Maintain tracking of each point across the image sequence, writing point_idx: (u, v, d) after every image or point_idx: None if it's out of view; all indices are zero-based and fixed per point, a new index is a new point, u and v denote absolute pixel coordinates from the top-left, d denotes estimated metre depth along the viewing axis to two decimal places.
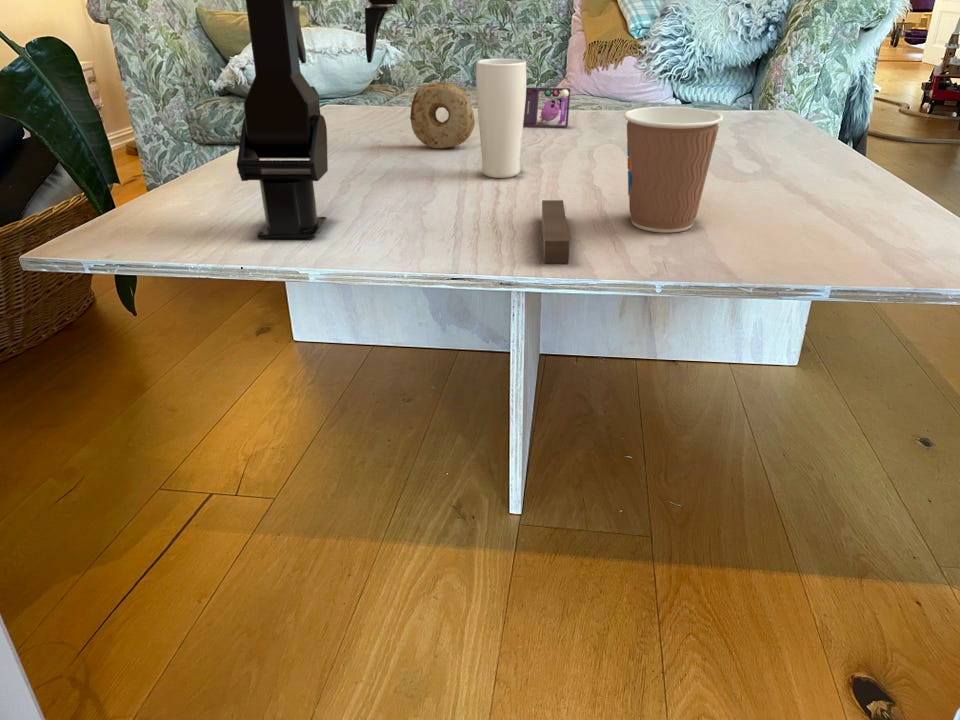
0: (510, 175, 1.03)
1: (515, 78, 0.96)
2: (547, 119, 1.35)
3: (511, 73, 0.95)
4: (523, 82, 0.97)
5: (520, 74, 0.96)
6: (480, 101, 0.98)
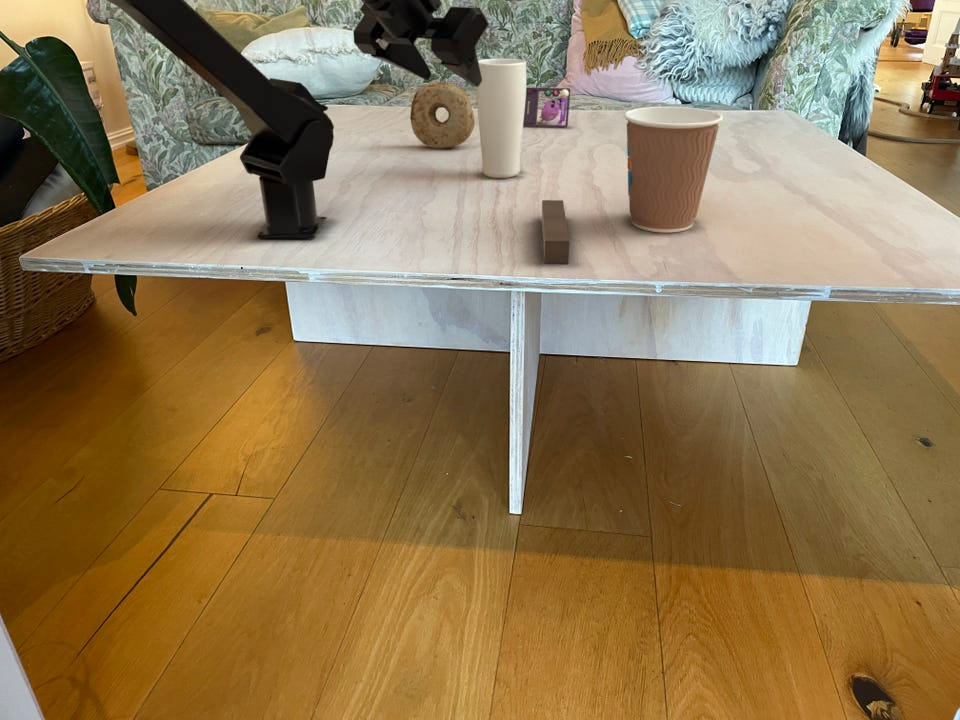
0: (510, 175, 1.03)
1: (515, 78, 0.96)
2: (547, 119, 1.35)
3: (511, 73, 0.95)
4: (523, 82, 0.97)
5: (520, 74, 0.96)
6: (480, 101, 0.98)
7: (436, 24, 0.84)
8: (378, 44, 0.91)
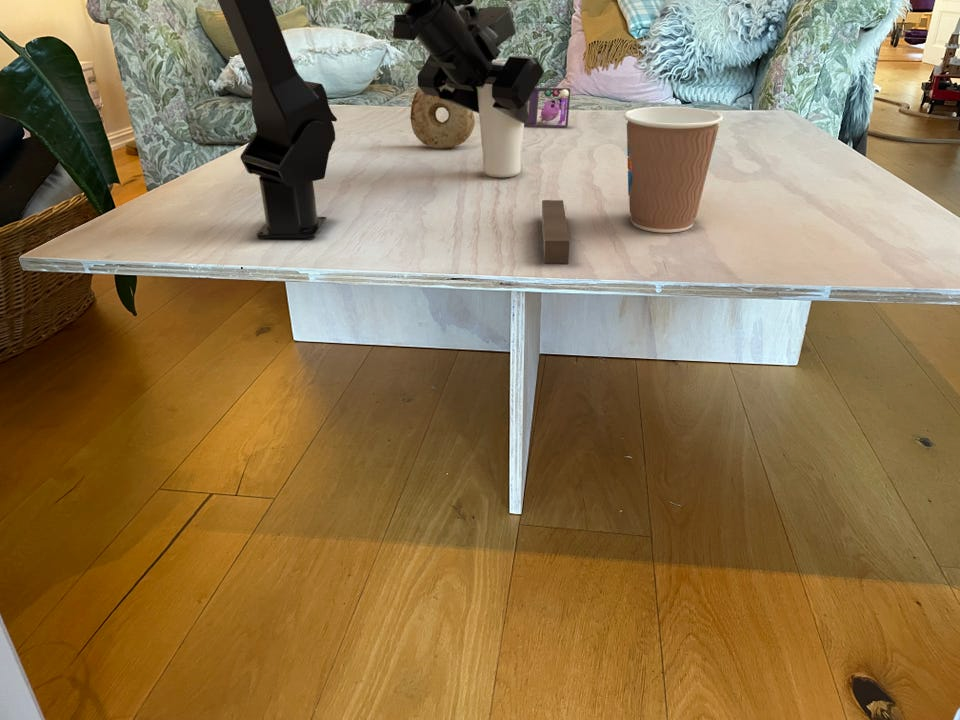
0: (511, 174, 1.02)
1: None
2: (547, 119, 1.35)
3: None
4: None
5: None
6: (481, 100, 0.98)
7: (496, 72, 0.92)
8: None
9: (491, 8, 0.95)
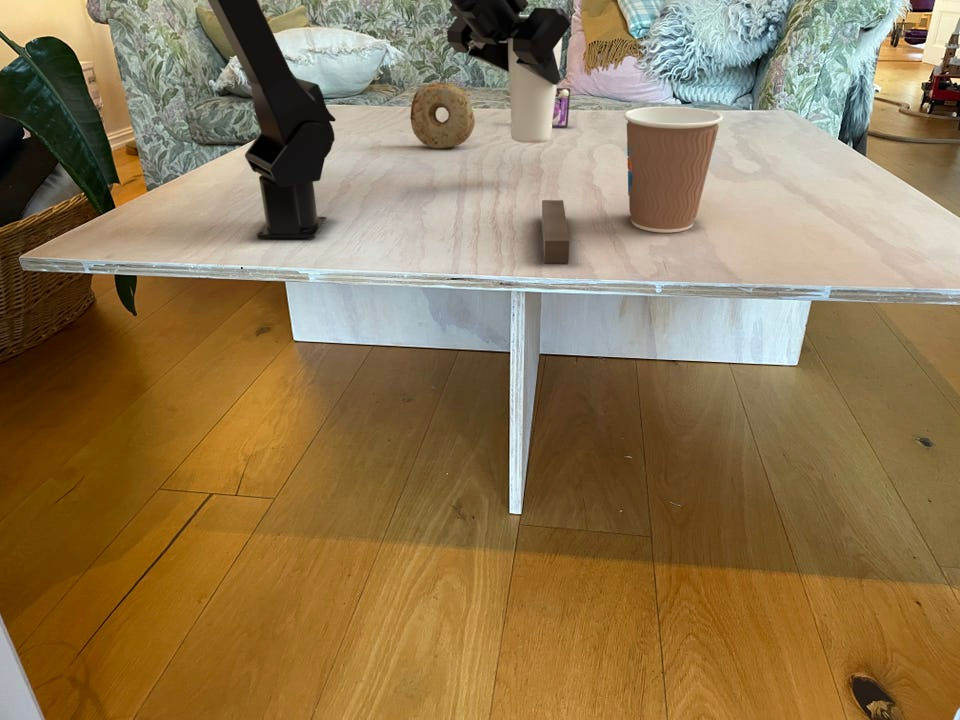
0: (538, 140, 0.95)
1: None
2: None
3: None
4: None
5: None
6: (510, 57, 0.92)
7: (520, 24, 0.85)
8: (469, 43, 0.94)
9: None
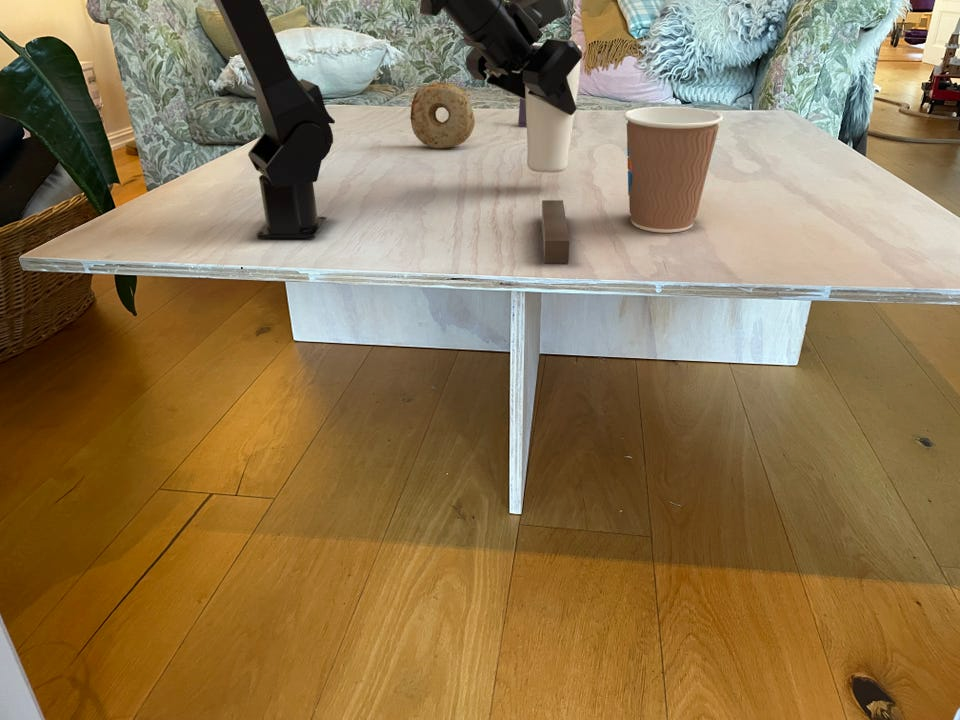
0: (553, 170, 0.94)
1: None
2: None
3: None
4: (573, 68, 0.89)
5: None
6: (526, 86, 0.91)
7: (533, 55, 0.84)
8: (487, 71, 0.93)
9: None
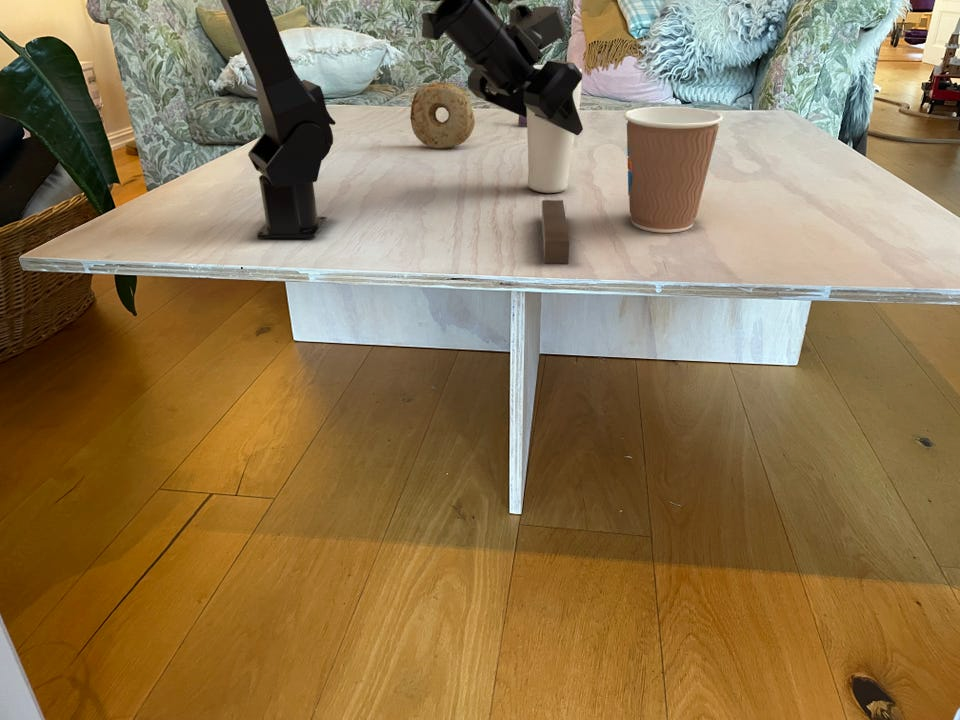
0: (554, 190, 0.95)
1: None
2: None
3: None
4: (574, 92, 0.90)
5: None
6: (527, 108, 0.92)
7: (533, 77, 0.85)
8: (488, 90, 0.94)
9: (543, 8, 0.88)
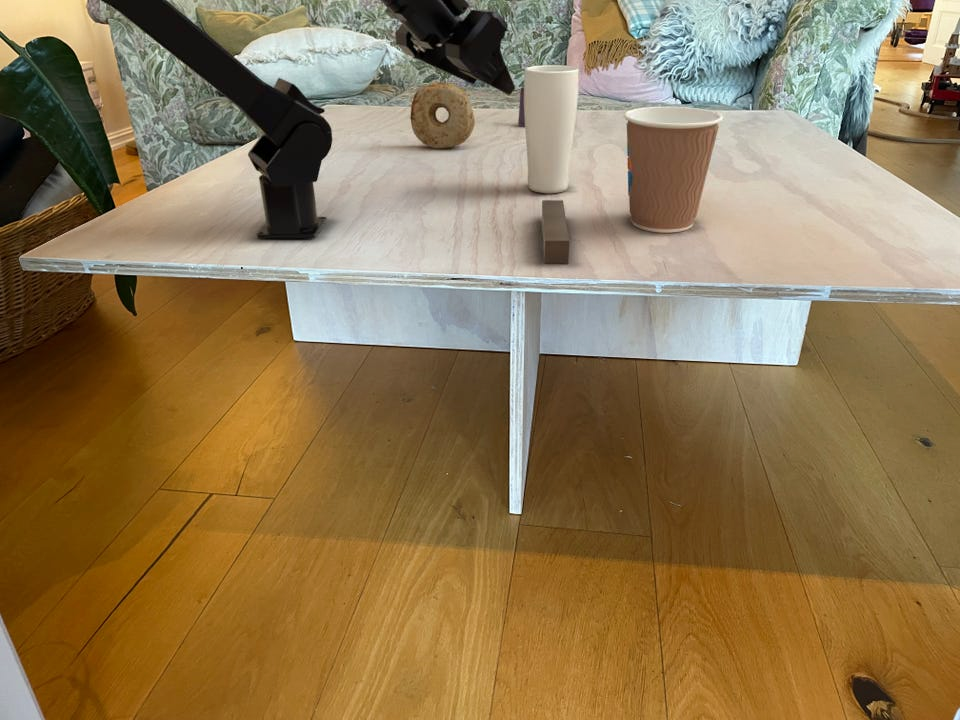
0: (553, 191, 0.95)
1: (561, 87, 0.89)
2: None
3: (556, 81, 0.88)
4: (571, 92, 0.90)
5: (566, 83, 0.89)
6: (525, 110, 0.92)
7: (457, 28, 0.79)
8: (417, 46, 0.88)
9: None
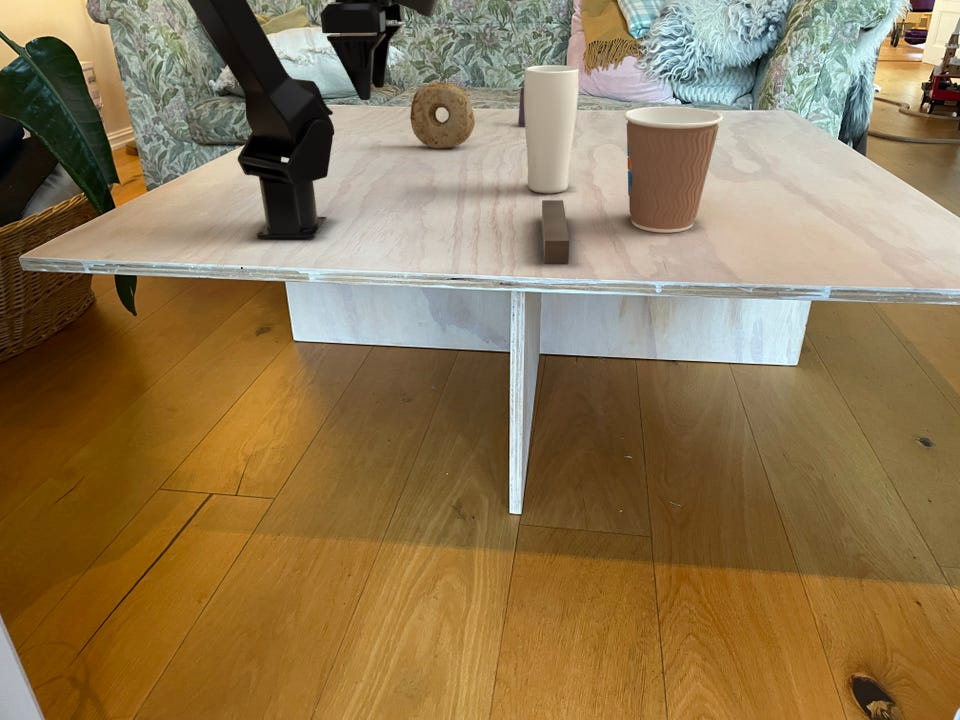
0: (553, 191, 0.95)
1: (561, 87, 0.89)
2: None
3: (556, 81, 0.88)
4: (571, 92, 0.90)
5: (566, 83, 0.89)
6: (525, 110, 0.92)
7: None
8: None
9: None
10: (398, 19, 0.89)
